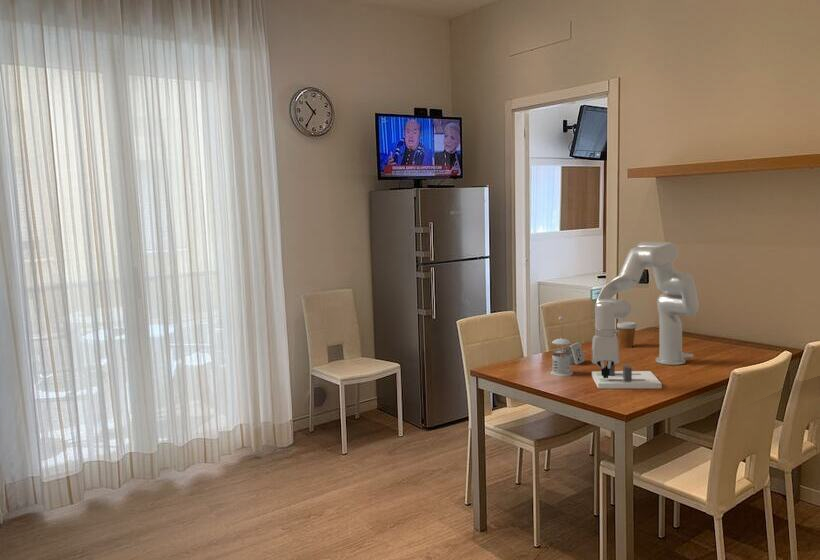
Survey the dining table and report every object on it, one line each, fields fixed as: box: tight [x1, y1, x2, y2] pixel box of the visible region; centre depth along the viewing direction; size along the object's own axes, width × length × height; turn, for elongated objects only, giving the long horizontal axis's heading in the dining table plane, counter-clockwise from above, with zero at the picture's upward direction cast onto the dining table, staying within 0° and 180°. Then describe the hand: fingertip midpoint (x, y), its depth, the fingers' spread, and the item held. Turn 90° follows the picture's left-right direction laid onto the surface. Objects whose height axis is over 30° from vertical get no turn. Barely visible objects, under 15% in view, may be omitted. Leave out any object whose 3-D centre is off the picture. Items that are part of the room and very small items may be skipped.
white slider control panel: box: [591, 364, 663, 389], centre depth 260 cm, size 24×19×8 cm
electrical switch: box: [565, 341, 586, 366], centre depth 296 cm, size 9×5×9 cm, turn 141°
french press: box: [550, 316, 574, 377], centre depth 278 cm, size 10×12×25 cm
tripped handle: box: [622, 364, 633, 381], centre depth 256 cm, size 2×5×5 cm, turn 172°
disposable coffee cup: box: [616, 321, 637, 348], centre depth 324 cm, size 10×10×12 cm
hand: (605, 377), depth 257 cm, fingers closed
